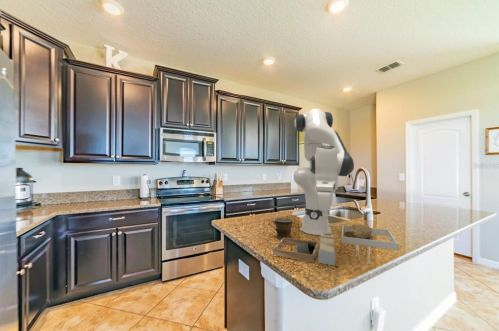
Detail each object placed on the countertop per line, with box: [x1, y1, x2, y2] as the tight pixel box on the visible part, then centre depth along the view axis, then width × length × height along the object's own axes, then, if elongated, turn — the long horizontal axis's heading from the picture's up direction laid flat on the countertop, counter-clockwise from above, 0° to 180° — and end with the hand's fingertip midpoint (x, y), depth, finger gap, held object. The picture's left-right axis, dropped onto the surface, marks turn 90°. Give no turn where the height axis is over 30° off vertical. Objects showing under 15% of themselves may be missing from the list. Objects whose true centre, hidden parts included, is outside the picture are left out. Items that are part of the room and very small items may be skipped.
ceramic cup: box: [268, 217, 294, 240], centre depth 118 cm, size 13×10×10 cm
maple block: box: [319, 234, 335, 252], centre depth 87 cm, size 5×5×5 cm
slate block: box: [317, 247, 336, 267], centre depth 87 cm, size 6×6×5 cm
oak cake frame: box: [272, 237, 320, 264], centre depth 97 cm, size 17×17×3 cm
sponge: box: [343, 223, 373, 239], centre depth 118 cm, size 13×8×20 cm
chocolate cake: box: [295, 240, 315, 255], centre depth 95 cm, size 10×7×12 cm
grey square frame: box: [341, 224, 399, 250], centre depth 116 cm, size 24×24×3 cm
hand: (326, 217), depth 88 cm, fingers open, 8 cm apart
